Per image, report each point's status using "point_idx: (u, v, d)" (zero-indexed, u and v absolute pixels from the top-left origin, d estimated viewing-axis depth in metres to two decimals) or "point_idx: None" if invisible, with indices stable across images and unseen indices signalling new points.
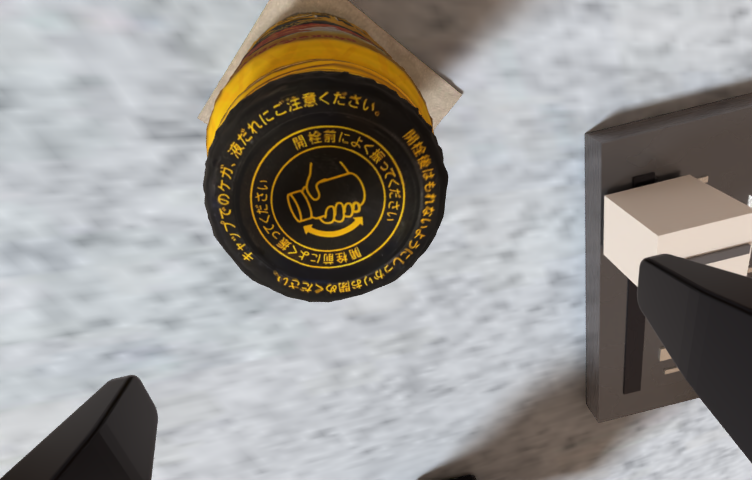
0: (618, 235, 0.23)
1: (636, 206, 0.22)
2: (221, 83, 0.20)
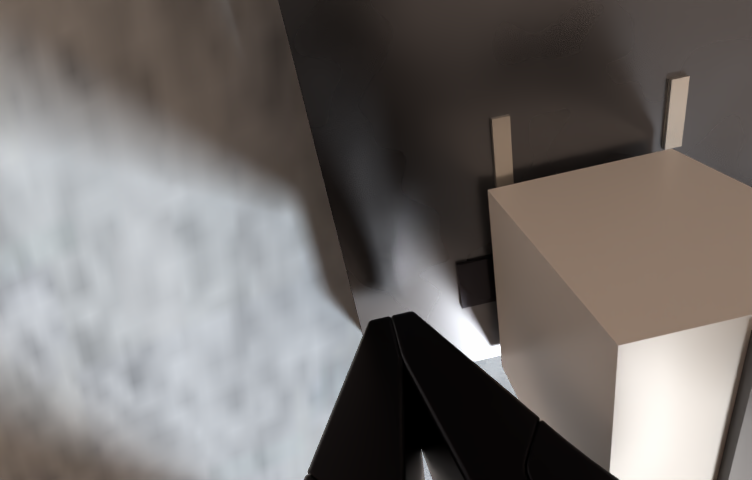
0: None
1: (530, 403, 0.09)
2: None
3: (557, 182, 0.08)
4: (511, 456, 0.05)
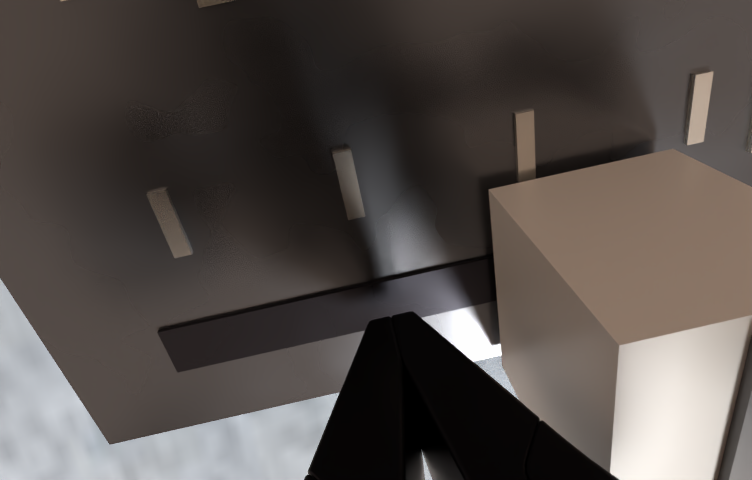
0: None
1: (531, 403, 0.09)
2: None
3: (558, 182, 0.08)
4: (511, 455, 0.05)
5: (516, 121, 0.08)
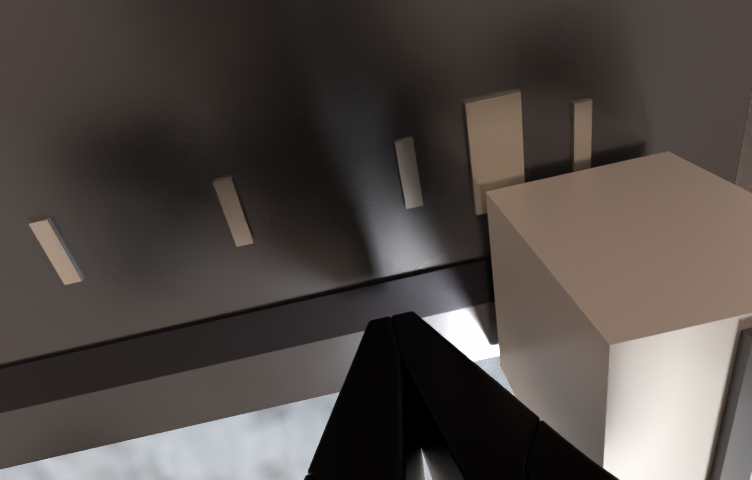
0: None
1: (528, 402, 0.09)
2: None
3: (554, 184, 0.08)
4: (511, 456, 0.05)
5: (217, 189, 0.08)
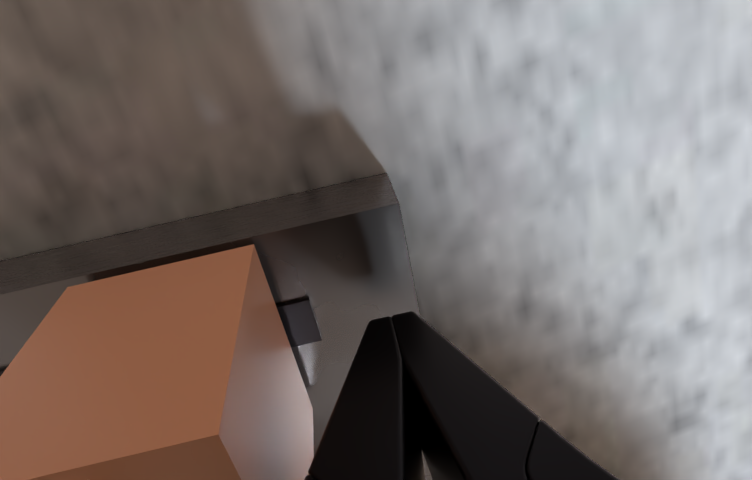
0: None
1: None
2: None
3: None
4: (511, 456, 0.05)
5: None
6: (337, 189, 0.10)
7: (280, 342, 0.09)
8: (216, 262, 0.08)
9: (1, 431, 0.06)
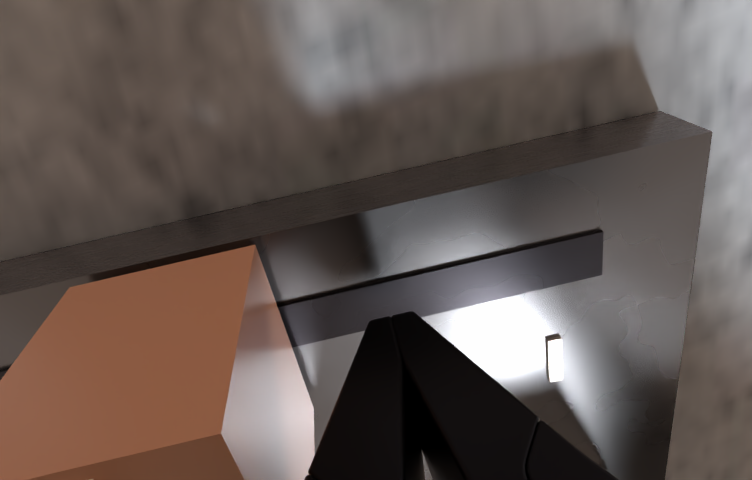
0: None
1: None
2: None
3: None
4: (511, 456, 0.05)
5: None
6: (618, 125, 0.10)
7: (281, 342, 0.09)
8: (218, 262, 0.08)
9: (5, 430, 0.06)
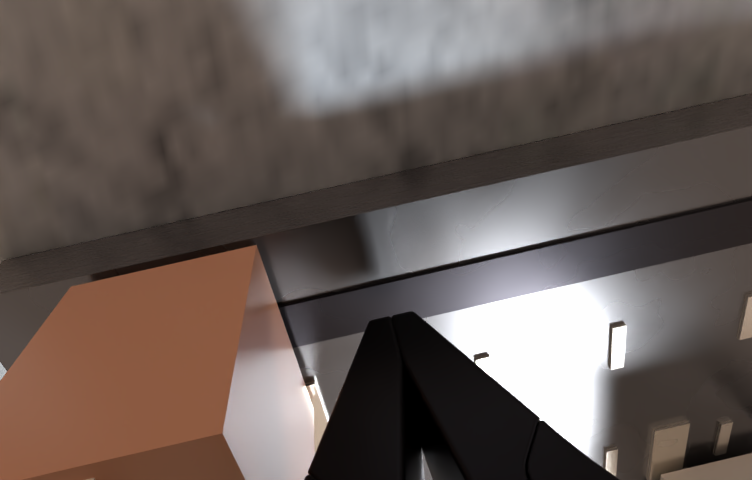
0: None
1: None
2: None
3: (709, 475, 0.13)
4: (511, 455, 0.05)
5: None
6: None
7: (282, 342, 0.09)
8: (219, 262, 0.08)
9: (6, 429, 0.06)
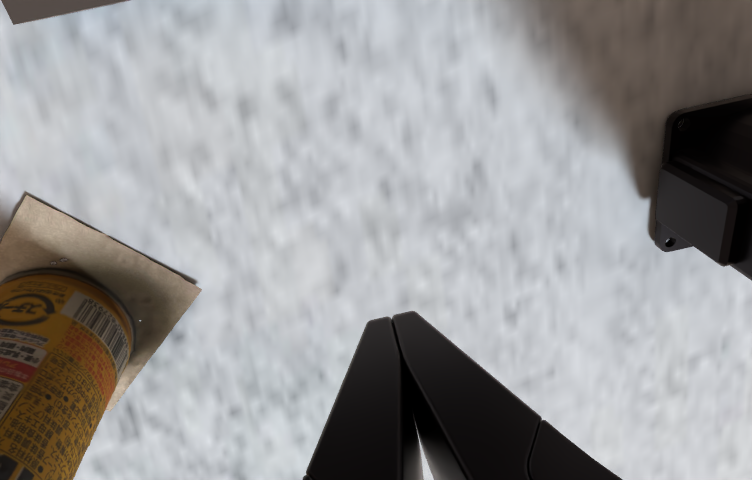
0: None
1: None
2: None
3: None
4: (513, 455, 0.05)
5: None
6: None
7: None
8: None
9: None
